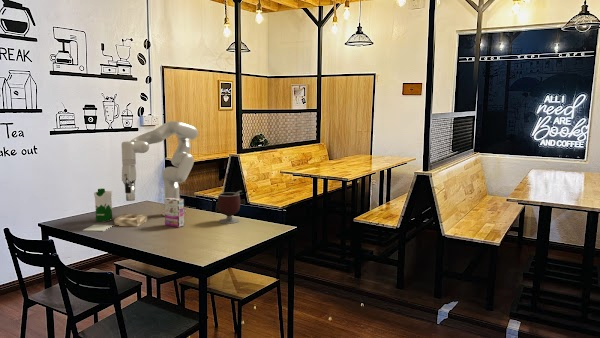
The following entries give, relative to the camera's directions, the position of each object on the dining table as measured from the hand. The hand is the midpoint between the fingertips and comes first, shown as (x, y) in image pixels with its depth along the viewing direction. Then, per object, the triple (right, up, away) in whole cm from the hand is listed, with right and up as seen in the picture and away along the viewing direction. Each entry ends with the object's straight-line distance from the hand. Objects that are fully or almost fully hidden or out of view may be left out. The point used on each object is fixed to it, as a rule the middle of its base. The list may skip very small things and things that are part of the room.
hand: (130, 192), depth 270 cm
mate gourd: (+59, -19, +9) cm, 62 cm away
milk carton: (-20, -18, +10) cm, 28 cm away
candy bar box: (+28, -20, -3) cm, 34 cm away
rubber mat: (-14, -20, -11) cm, 27 cm away
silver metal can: (0, -5, +1) cm, 5 cm away
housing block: (0, -19, +2) cm, 19 cm away
